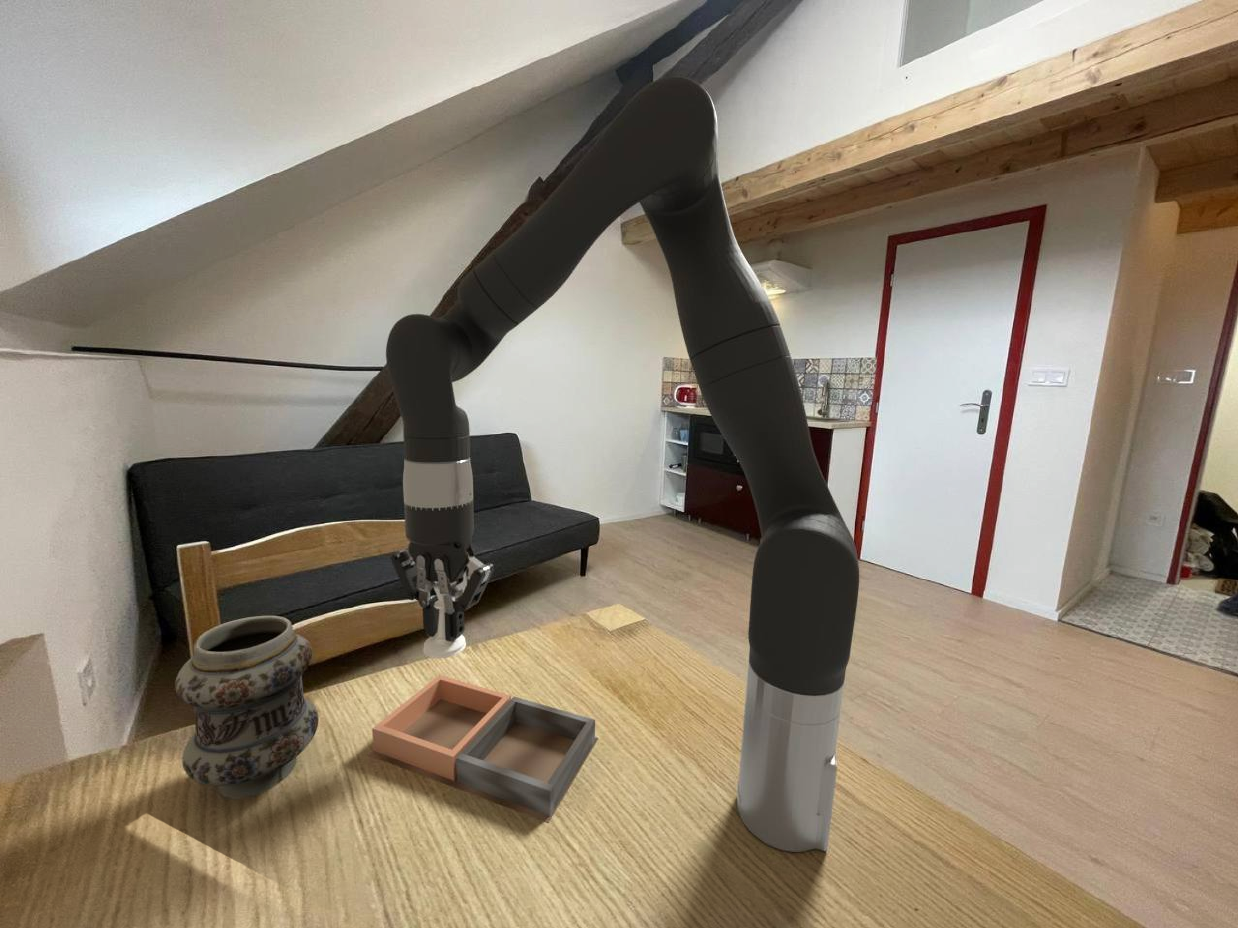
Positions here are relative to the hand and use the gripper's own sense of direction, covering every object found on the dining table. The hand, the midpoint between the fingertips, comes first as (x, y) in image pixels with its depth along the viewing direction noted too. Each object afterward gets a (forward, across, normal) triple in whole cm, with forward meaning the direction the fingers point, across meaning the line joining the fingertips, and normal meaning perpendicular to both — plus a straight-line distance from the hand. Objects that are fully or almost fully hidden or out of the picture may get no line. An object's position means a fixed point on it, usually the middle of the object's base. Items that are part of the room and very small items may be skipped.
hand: (443, 635), depth 61 cm
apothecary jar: (+15, +15, +13) cm, 25 cm away
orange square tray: (+13, 0, 0) cm, 13 cm away
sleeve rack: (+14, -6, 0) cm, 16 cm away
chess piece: (+2, 0, 0) cm, 2 cm away
